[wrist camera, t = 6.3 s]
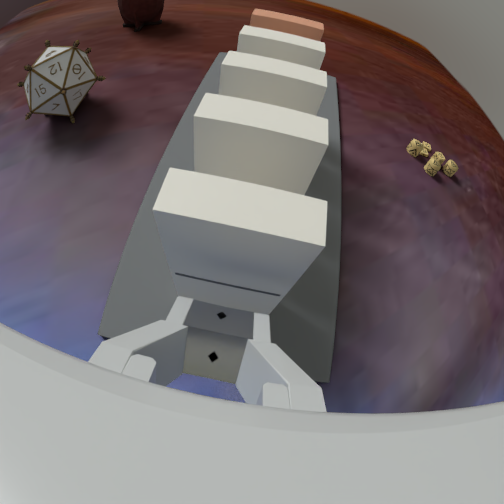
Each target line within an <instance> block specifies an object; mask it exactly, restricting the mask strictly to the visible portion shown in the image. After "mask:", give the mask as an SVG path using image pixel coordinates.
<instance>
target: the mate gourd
mask: <svg viewBox="0 0 504 504" xmlns="http://www.w3.org/2000/svg"><path fill="white" fill-rule="evenodd" d="M117 2H118V7H119V10H120V13H121V16H122V18H123V20H124V24H123V27H129V26H136V27H135V29H134V32H137V31H140V30H141V28H142V27H143V26H144V25H152V24H161V23H162V20H160V18H161V14H162V11H163V7H164V0H118V1H117Z"/></svg>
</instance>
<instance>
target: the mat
mask: <svg viewBox="0 0 504 504" xmlns="http://www.w3.org/2000/svg"><path fill="white" fill-rule="evenodd" d="M226 55H227V53H222V52H220V53H219V54H218V56H217V58H216V59H215V61H214V62H213V64H212V66H211V67H210V69H209V71H208V72H207V74H206V76H205V77H204V79H203V81H202V82H201V84H200V86H199V88H198V89H197V91H196V93H195V95H194V96H193V98H192V100H191V102H190V104H189V106H188V107H187V109H186V111H185V113H184V115H183V117H182V119H181V120H180V122H179V124H178V126H177V128H176V130H175V132H174V134H173V136H172V138H171V140H170V142H169V144H168V146H167V148H166V150H165V152H164V155H163V157H162V159H161V161H160V163H159V165H158V167H157V170H156V172H155V174H154V176H153V178H152V181H151V183H150V185H149V187H148V190H147V192H146V194H145V197H144V199H143V202H142V204H141V206H140V209H139V211H138V214H137V216H136V219H135V221H134V224H133V226H132V229H131V232H130V234H129V237H128V240H127V242H126V245H125V248H124V251H123V253H122V256H121V259H120V262H119V265H118V268H117V271H116V274H115V277H114V280H113V283H112V286H111V289H110V293H109V296H108V299H107V302H106V306H105V309H104V313H103V316H102V320H101V323H100V327H99V331H98V335H100V336H103V337H106V338H110V339H111V338H114V337H116V336H119V335H122V334H125V333H127V332H130V331H133V330H135V329H138V328H141V327H143V326H146V325H148V324H151V323H154V322H156V321H159V320H166V318H167V316H168V314H169V312H170V310H171V308H172V307H173V305H174V303H175V301H176V299H177V297H178V293H177V290H176V287H175V284H174V281H173V277H172V274H171V271H170V268H169V265H168V262H167V258H166V255H165V252H164V248H163V245H162V242H161V238H160V235H159V231H158V228H157V224H156V221H155V217H154V213H153V207H154V204H155V202H156V199H157V197H158V194H159V192H160V190H161V187H162V185H163V182H164V180H165V177H166V175H167V173H168V170H169V168H176V169H182V170H188V171H193V172H194V114H195V112H196V110H197V108H198V106H199V104H200V103H201V101H202V99H203V97H204V95H205V93H212V94H218V95H219V84H220V73H221V64H222V62H223V60H224V58H225V57H226ZM316 116H318V117H322V118H325V119H328V147H327V149H326V151H325V153H324V155H323V158H322V160H321V162H320V164H319V166H318V168H317V170H316V172H315V174H314V176H313V178H312V180H311V183H310V185H309V187H308V189H307V191H306V193H305V196H309V197H313V198H317V199H321V200H324V201H327V224H326V242H325V247H324V249H323V250H322V251H321V252H320V254H319V255H318V256H317V257H316V259H315V260H314V261H313V262H312V264H311V265H310V266H309V267H308V269H307V270H306V271H305V272H304V273H303V275H302V276H301V277H300V278H299V279H298V281H297V282H296V283H295V284H294V285H293V287H292V288H291V289H290V290H289V291H288V293H287V294H286V295H285V296H284V297H283V299H282V300H281V301H280V302H279V303H278V305H277V306H276V307H275V308H274V309H273V310H272V312H271V313H270V314H269V316H270V330H271V343H274V344H276V345H277V346H278V347H279V348H280V349H281V350H282V351H283V352H284V353H285V354H286V355H287V356H288V357H289V358H290V359H291V360H293V361H294V362H295V363H296V364H297V365H298V366H299V367H300V368H301V369H302V370H303V371H304V372H305V373H306V374H307V375H308V376H309V377H310V378H311V379H312V380H313V381H314V382H324V383H329V380H330V372H331V364H332V356H333V347H334V337H335V327H336V315H337V302H338V288H339V270H340V247H341V152H340V129H339V112H338V99H337V87H336V78H335V77H332V76H328V75H327V89H326V92H325V94H324V97H323V100H322V102H321V105H320V107H319V110H318V112H317V115H316Z"/></svg>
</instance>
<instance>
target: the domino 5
mask: <svg viewBox="0 0 504 504" xmlns="http://www.w3.org/2000/svg"><path fill="white" fill-rule="evenodd" d="M153 213H154V217H155V221H156V224H157V228H158V231H159V235H160V238H161V242H162V245H163V248H164V252H165V255H166V258H167V262H168V265H169V268H170V271H171V274H172V277H173V281H174V284H175V287H176V290H177V293H178V296H182V297H187V298H192V299H193V300H194V299H195V300H199V301H203V302H207V303H211V304H215V305H220V306H224V307H228V308H234V309H239V310H245V311H250V312H255V313H262V314H268V315H269V314H270V313H271V312H272V310H273V309H274V308H275V307H276V306H277V305H278V303H279V302H280V301H281V300H282V299H283V297H284V296H285V295H286V294H287V293H288V291H289V290H290V289H291V288H292V287H293V285H294V284H295V283H296V282H297V281H298V279H299V278H300V277H301V276H302V275H303V273H304V272H305V271H306V270H307V269H308V267H309V266H310V265H311V264H312V262H313V261H314V260H315V259H316V257H317V256H318V255H319V254H320V252H321V251H322V250H323V249H324V247H325V242H326V224H327V201H324V200H321V199H317V198H313V197H309V196H305V195H301V194H297V193H292V192H288V191H284V190H280V189H275V188H271V187H267V186H262V185H258V184H253V183H249V182H244V181H239V180H234V179H229V178H224V177H219V176H214V175H209V174H204V173H199V172H193V171H188V170H182V169H176V168H169V170H168V173H167V175H166V177H165V180H164V182H163V185H162V187H161V190H160V192H159V194H158V197H157V199H156V202H155V204H154V207H153Z"/></svg>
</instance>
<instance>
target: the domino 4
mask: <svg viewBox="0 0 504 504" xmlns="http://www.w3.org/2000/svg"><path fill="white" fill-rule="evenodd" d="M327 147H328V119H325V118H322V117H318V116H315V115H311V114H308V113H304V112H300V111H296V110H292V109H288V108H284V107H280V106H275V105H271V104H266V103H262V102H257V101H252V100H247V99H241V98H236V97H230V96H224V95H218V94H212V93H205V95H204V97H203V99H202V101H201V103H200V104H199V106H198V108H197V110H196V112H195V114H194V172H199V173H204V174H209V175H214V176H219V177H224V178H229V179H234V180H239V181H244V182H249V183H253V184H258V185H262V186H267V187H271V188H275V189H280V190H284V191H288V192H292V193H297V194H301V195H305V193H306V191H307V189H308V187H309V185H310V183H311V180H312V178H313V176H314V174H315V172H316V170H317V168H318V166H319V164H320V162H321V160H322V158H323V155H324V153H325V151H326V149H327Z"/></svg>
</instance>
